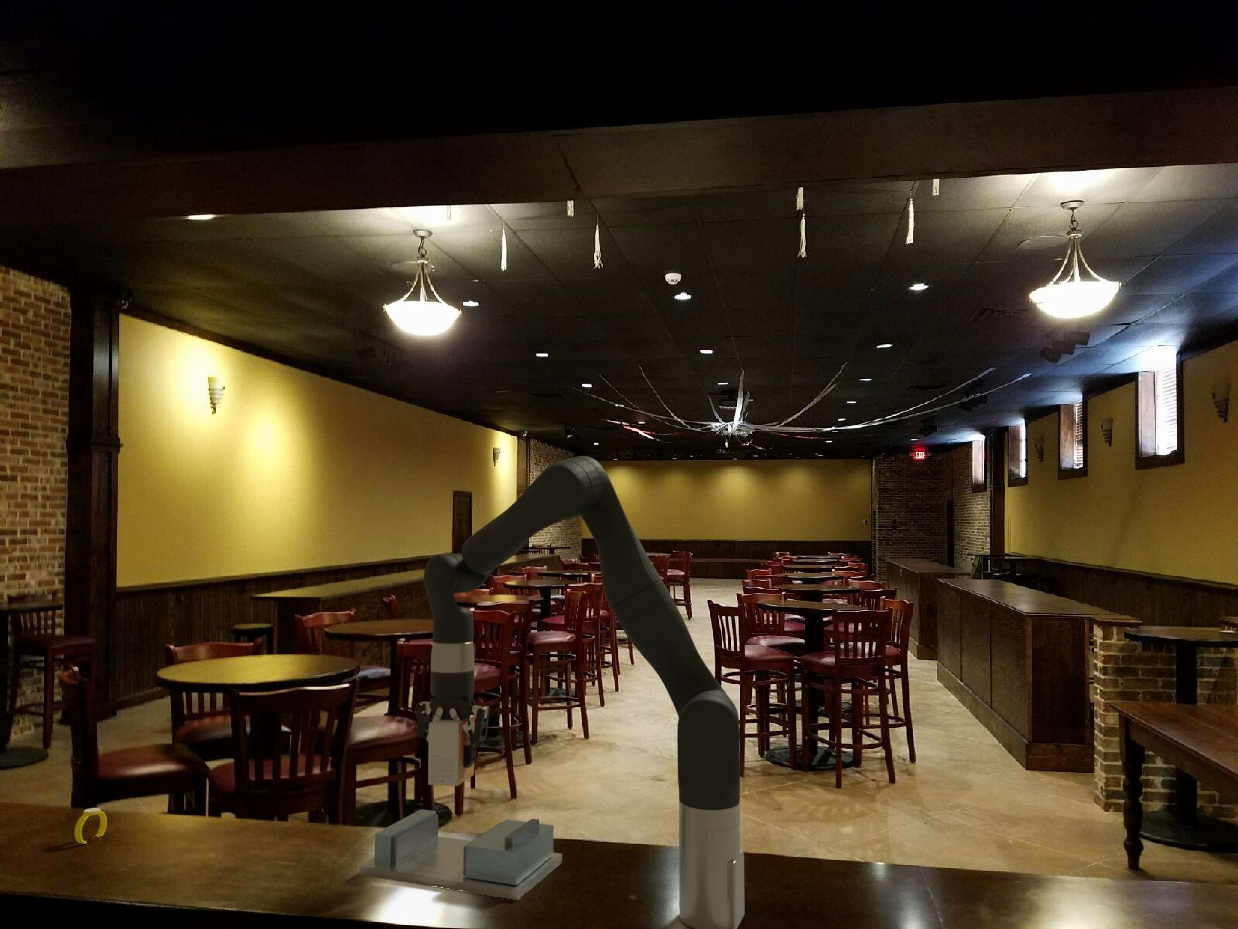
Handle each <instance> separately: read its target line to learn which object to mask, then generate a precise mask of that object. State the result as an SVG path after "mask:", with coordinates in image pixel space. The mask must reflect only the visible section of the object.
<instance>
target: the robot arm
mask: <svg viewBox="0 0 1238 929" xmlns="http://www.w3.org/2000/svg"><path fill="white" fill-rule="evenodd" d="M578 517H581V519H582V520H583V522H584V523H585V525H586V527H587V529H588V530H589V533H590V534H591V536H592V538H593V540H594V543H595V545H596V547H597V548H596V549H597V551H598V557H599V565H600V576H601V583H602V588H603V593H604V597H605V599H606V601H607V604H608V606H609V607H610V610H611V612H612V613H613V615H614V617H615V618H616V620H617V623H618V624H619V626H620V627H621V629H622V630H623V632H624V634H625V635H626V636H627V639H628V640H629V641H630V642H631V643H632V645H633V646H634V647H635V648H636V650H637V651H638V652H639V653H640V655H641V656H642V657H643V658H644V659H645V661H647V663H648V664H649V665H650V666H651V668H652V669H653V670H654V671H655V673H656V674H657V675H658V677H659V679H660V680H661V682H662V684H663V685H664V688H665V690H666V692H667V694H668V696H669V698H670V700H671V703H672V704H673V708H674V709H675V711H676V714H677V717H678V720H677V729H676V730H677V733H676V734H677V736H676V739H677V740H676V741H677V742H676V743H677V747H676V748H677V752H676V753H677V784H678V849H679V850H678V852H679V854H678V860H679V861H678V865H679V866H678V868H679V869H678V871H679V872H678V874H679V876H678V877H679V879H678V880H679V883H678V884H679V885H678V886H679V889H678V891H679V895H678V896H679V900H678V906H679V919H680V921H681V922H682V923H683V924H685V925H686V926H688V927H689V928H692V929H738V928H739V926H740V924H741V923H742V922H741V921H742V920H743V918H744V916H745V851H744V849H741V774H740V773H741V767H740V766H741V761H740V760H741V758H740V756H741V749H740V748H741V745H740V742H741V740H740V739H741V738H740V736H741V735H740V716H739V713H738V709H737V707H736V705H735V703H734V701H732V699H731V698H730V696H729V695H728V694H727V693H726V691H725V690H724V689H723V687H722V685H720V683H719V682H718V680H717V678H716V677H715V676H714V674H713V673H712V672H711V670H710V669H709V667H708V666H707V664H706V663H705V661H704V660H703V658H702V656H701V654H700V653H699V651H698V649H697V647H696V644H695V642H694V641H693V638H692V635H691V633H690V630H689V629H688V626H687V624H686V622H685V621H684V618H683V616H682V614H681V612H680V610H679V609H678V606H677V605H676V603H675V601H674V598H673V597H672V595H671V593H670V591H669V590H668V588H667V586H666V584H665V582H664V581H663V580H662V577H661V576H660V574H659V573H658V570H656V567H655V566H654V565H653V563H652V561H651V559H650V558H649V556H648V554H647V552H646V550H645V549H644V546H643V545H642V542H641V541H640V539H639V538H638V536H637V534H636V532H635V530H634V529H633V526H632V524H631V523H630V520H629V519H628V517H627V514H626V512H625V510H624V507H623V506H622V503H621V501H620V499H619V496H618V494H617V492H616V490H615V486H614V485H613V483H612V481H611V478H610V476H609V475H608V473H607V472H606V469H604V467H603V466H602V465H601V463H599V462H598V460H596V459H594V458H592V457H590V456H587V455H586V456H585V455H577V456H573V457H570V458H566V459H564V460H561V461H556V462H554V463H552V464H550V465H548V466H547V467H546V468H545V469H544V470H543V471H542V472H541V473H540V474H539V475H538V476H537V477H536V478H535V479H534V480H533V481H532V483H531V484H530V485H529V486H528V487H527V489H526V490H525V491H524V492H523V493H522V494H521V495H520V496H519V497H518V498H517V499H516V500H515V501H514V502H513V503H512V504H511V505H510V506H509V507H508V508H507V509H505V510H504V511H503V512H501V513H500V514H498V515H497V516H496V517H495V518H493V519H492V520H491V521H490V522H489V521H488V523H487V524H485V525H484V526H482V527H481V528H480V529H478V530H477V531H476V532H475V533H473V534H472V535H471V536H470V537H468V538H467V539H466V540H465V542H464V543H463V545H462V548H461V553H441V554H440V553H439V554H435V555H433V556H431V558H430V559H429V560H428V561H427V563H426V565H425V567H424V571H423V572H424V573H423V583H424V588H425V592H426V596H427V600H428V604H429V607H430V611H431V615H432V620H433V622H432V623H433V624H432V647H431V654H430V656H431V657H430V694H431V699H430V701H421V702H418V703H416V704H415V706H414V707H415V717H416V719H415V720H416V727H417V728H416V729H417V736H418V737H419V739H422V738H423V739H425V740H426V741H427V743H428V744H427V745H428V746H427V748H428V751H427V752H428V753H429V723H431V717H430V716H431V714H430V713H431V712H432V715H433V716H434V717H433V719H432V722H434V721H440V720H454V721H458V722H462V721H467V720H468V722H469V724H468V726H466V727H465V726H464V725H463V726H462V732H463V741H464V744H465V746H464V752H463V767H465V768H468V767H470V766H472V765H473V763H474V764H475V762H476V759H477V758H476V757H477V754H476V751H477V750H476V748H477V744H478V743H480V742H482V741H485V740H486V739H487V734H488V727H489V718H490V711H491V708H490V706H489V705H485V706H480V705H476V703H475V701H474V693H475V649H474V615H473V611H472V610H471V609H470V608H468V607H463V606H459V605H458V603H457V600H456V597H455V594H465V593H467V594H468V593H471V592H472V591H476V590H477V589H479V588H481V587H482V586H483V585H484V583H485V582H486V581H487V580H488V578H489V577H490V576H491V574H492V573H493V571H494V570H496V568H498V567H500V566H501V565H503V564H505V563H506V562H507V561H508V560H510V559H511V558H512V557H513V556H515V555H516V554H517V553H518V552H519V551H520V550H521V549H523V547H524V546H525V545H526V544H527V542H528V541H529V540H530V539H531V538H532V537H534V536H535V535H536V534H538V533H539V532H541V531H543V530H544V529H547V528H548V527H551V526H553V525H555V524H557V523H560V522H562V521H566V520H569V519H571V520H572V519H575V518H578ZM471 715H474V718H475V729H474V725H473V723H472V720H471V718H470V716H471ZM428 753H427V754H428Z"/></svg>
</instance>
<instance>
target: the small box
mask: <svg viewBox="0 0 1238 929" xmlns="http://www.w3.org/2000/svg"><path fill="white" fill-rule="evenodd" d="M470 718H471V720H472V723H473V725H474V729H475V722H476V719H475V718H474V714H471V716H470ZM468 724H469V722H468V720H467V721H462V722H458V721H454V720H440V721H434V722H433V721H430V723H429V753H427V754H428V755H427V758H428V768H427V769H428V772H427V774H428V775H427V776H428V777H427V778H428V780H427V783H428V785H429V786H448V787H450V786H451V787H458V786H460V785H461V784H462V783H463V782H465V781H467V780H468V779H469V778H471V777H473V776H474V775H475V763H473V765H472V766H470V767H468V768H465V767H463V752H464V746H465V744H464V741H463V732H462V726H463V725H464V726H465V727H466V726H468Z"/></svg>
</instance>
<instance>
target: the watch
mask: <svg viewBox="0 0 1238 929" xmlns="http://www.w3.org/2000/svg"><path fill="white" fill-rule="evenodd" d="M96 815H97V816H98V817H99V819H100V820H99V828H98V830H97V833H96V834H95V835H94V837H95V836H97V837H100V836H102V837H103V836H104V834H105V832H106V830H107V828H108V827H107V826H108V818H107V816H106V813H105V812H104V811H102V810H101V807H92V808H87V809H86V808H85V810H83V814H82V815H81V816H80V817H79V819H78V821H77V822H76V824H75V827H74V838H75V841H76V843H78V844H80V843H82V844H81V845H83V844H86V843H87V842H86V841H87V840H84V838H83V836H82V831H83V826H84V824H85V822H86V821H87V819H88V818H89V817H90V816H96Z"/></svg>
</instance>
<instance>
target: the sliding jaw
mask: <svg viewBox="0 0 1238 929" xmlns="http://www.w3.org/2000/svg"><path fill="white" fill-rule="evenodd" d="M470 841H471V842H470V843H468V844H467V845H465V846H464V854H463V875H464V876H466V877H468V878H474V879H481V880H487V881H493V882H500V883H506V884H512V885H517V884H518V883H520V882H521V881H522V880H523V879H525V878H526V877H527V876H528V875H529V874H531V873H532V872H533V871H534V870H535V869H537V868H538V867H539V866H540V865H542V864H543V863H544V862H545V861H546V860H548V859H549V858H550V857H551V856H552V855H553V853H554V824H553V825H552V824H546V823H540V819H538V818H531V819H529V820H528V821H523V820H515V819H508V818H507V819H505V820H503V821H500V822H499V823H497V824H496V825H494V826H493V827H491V828H489V829H488V830H487V831H485V832H484V833H482V834H481V835H478V837H475V839H473V840H470Z"/></svg>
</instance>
